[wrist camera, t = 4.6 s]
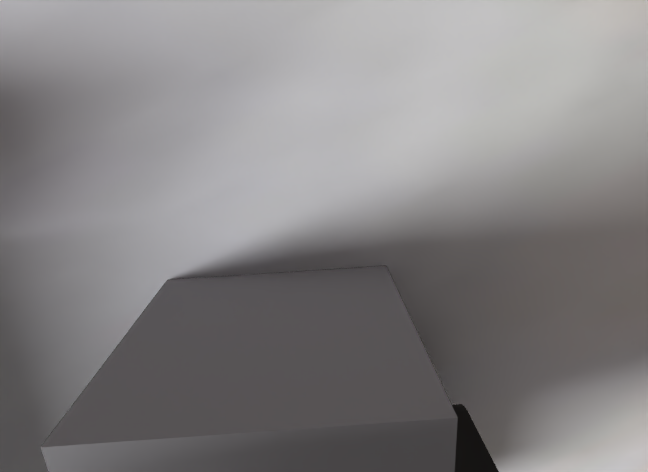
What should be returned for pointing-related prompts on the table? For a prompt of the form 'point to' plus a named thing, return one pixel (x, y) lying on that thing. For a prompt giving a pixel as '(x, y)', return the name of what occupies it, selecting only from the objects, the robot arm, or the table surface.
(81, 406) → the block
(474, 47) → the table surface
